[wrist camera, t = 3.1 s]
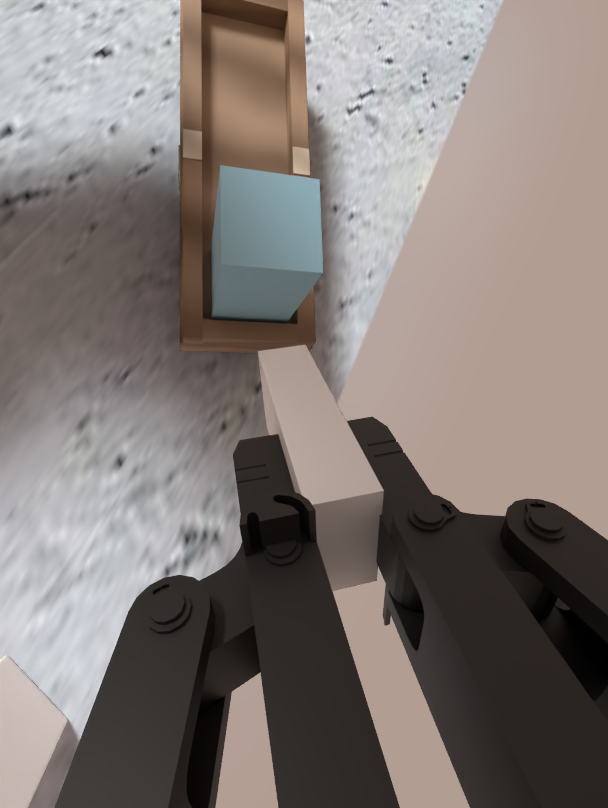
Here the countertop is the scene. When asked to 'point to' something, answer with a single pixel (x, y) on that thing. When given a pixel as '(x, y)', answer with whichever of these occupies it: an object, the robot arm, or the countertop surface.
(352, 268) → the countertop surface
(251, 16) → the long brown tray
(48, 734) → the milk
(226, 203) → the block
